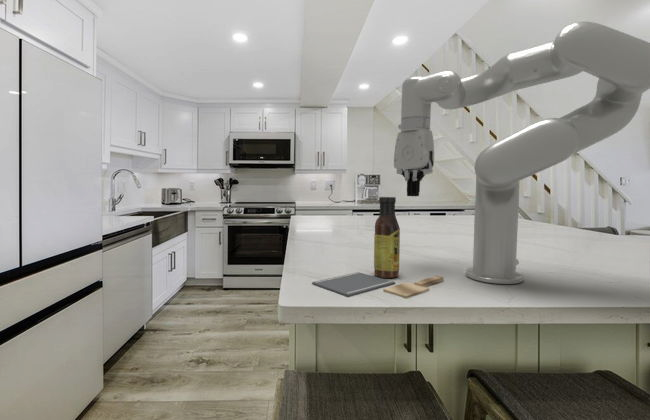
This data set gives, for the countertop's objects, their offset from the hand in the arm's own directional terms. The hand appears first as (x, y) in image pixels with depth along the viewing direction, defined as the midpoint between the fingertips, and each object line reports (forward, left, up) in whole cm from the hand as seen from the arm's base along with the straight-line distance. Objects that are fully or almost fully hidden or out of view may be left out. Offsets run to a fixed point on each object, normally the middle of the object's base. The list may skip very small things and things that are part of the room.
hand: (412, 196), depth 93 cm
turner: (+14, +11, -20) cm, 27 cm away
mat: (+22, 0, -20) cm, 30 cm away
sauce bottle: (+11, 0, -20) cm, 23 cm away
